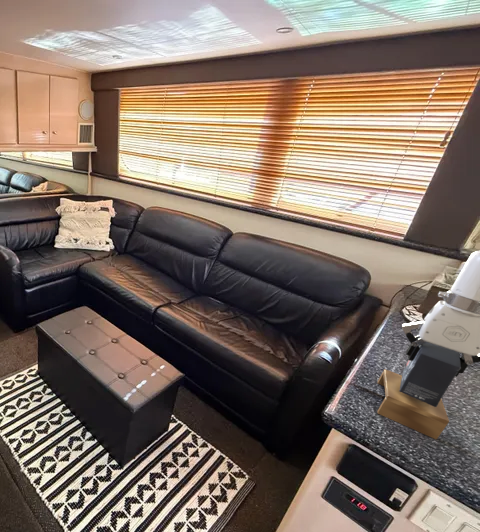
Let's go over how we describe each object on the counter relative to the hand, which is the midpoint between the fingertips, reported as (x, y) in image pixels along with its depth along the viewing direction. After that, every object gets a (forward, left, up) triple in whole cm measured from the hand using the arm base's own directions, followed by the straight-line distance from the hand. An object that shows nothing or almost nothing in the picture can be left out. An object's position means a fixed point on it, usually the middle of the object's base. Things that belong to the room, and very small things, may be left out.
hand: (431, 365), depth 80 cm
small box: (0, 0, -7) cm, 7 cm away
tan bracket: (0, 0, -15) cm, 15 cm away
